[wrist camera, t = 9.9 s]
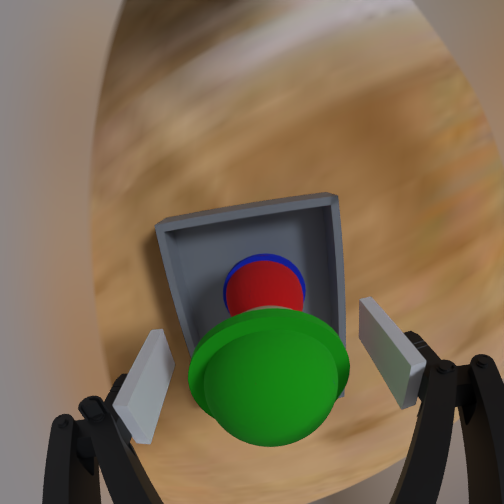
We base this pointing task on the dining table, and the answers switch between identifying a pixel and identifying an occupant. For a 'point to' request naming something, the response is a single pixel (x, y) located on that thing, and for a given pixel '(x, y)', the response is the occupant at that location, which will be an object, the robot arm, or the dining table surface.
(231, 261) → the tray
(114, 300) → the dining table surface
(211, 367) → the toy
